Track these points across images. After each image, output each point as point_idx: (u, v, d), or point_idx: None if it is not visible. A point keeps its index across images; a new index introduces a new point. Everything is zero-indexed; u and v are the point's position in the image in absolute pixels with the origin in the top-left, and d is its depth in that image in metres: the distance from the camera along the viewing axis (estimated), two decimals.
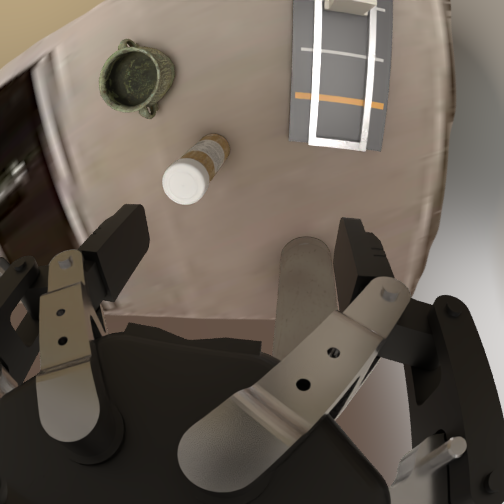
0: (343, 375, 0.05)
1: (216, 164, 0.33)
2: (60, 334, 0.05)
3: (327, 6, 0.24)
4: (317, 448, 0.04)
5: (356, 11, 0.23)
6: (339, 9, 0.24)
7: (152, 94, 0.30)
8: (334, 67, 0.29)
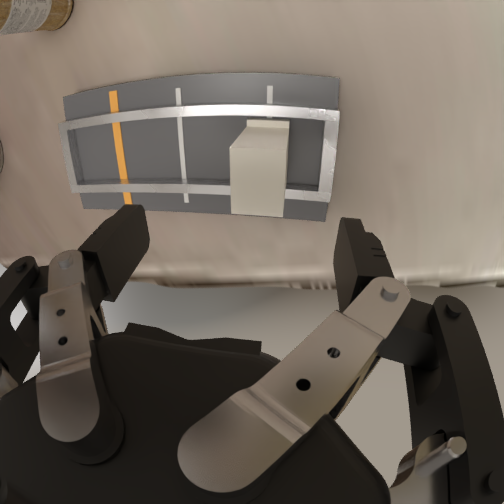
0: (343, 375, 0.05)
1: (4, 32, 0.12)
2: (60, 334, 0.05)
3: (251, 124, 0.20)
4: (317, 448, 0.04)
5: None
6: None
7: None
8: (159, 137, 0.23)
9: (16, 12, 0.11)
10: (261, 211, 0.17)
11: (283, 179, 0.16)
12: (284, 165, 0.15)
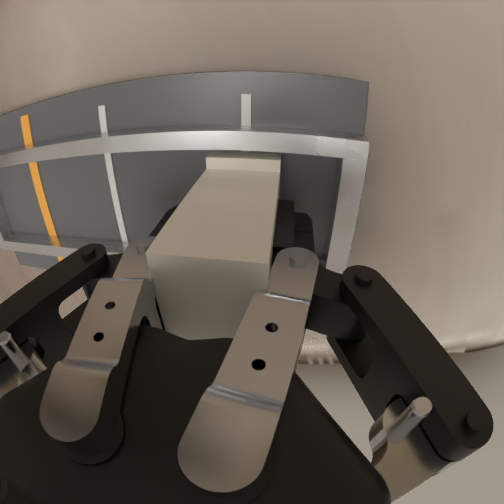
0: (289, 343, 0.05)
1: None
2: (99, 329, 0.05)
3: (213, 165, 0.12)
4: (317, 448, 0.04)
5: None
6: None
7: None
8: (84, 181, 0.14)
9: None
10: None
11: None
12: None
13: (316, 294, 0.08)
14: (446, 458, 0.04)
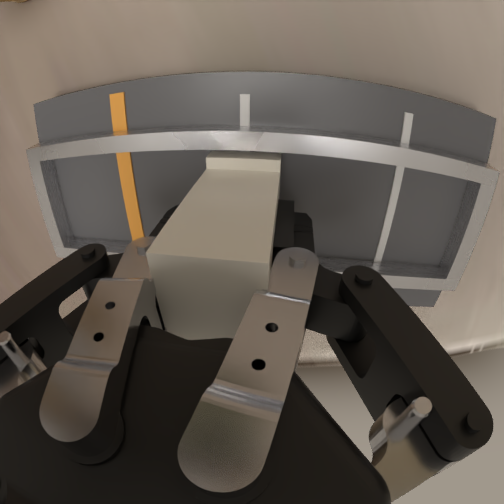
0: (289, 343, 0.05)
1: None
2: (99, 329, 0.05)
3: (213, 165, 0.12)
4: (317, 448, 0.04)
5: None
6: None
7: None
8: None
9: None
10: None
11: None
12: None
13: (316, 294, 0.08)
14: (446, 458, 0.04)
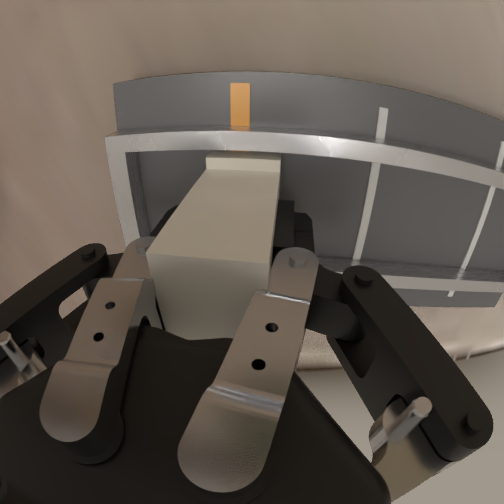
0: (289, 344, 0.05)
1: None
2: (99, 329, 0.05)
3: (213, 165, 0.12)
4: (317, 448, 0.04)
5: None
6: None
7: None
8: (329, 188, 0.13)
9: None
10: None
11: None
12: None
13: (316, 294, 0.08)
14: (446, 458, 0.04)
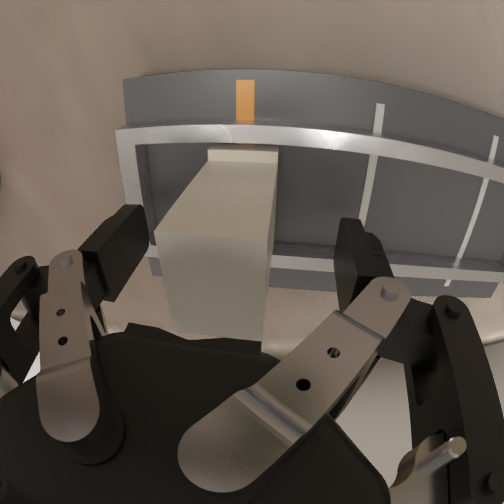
0: (343, 375, 0.05)
1: None
2: (60, 334, 0.05)
3: (214, 156, 0.12)
4: (317, 448, 0.04)
5: None
6: None
7: None
8: (329, 179, 0.14)
9: None
10: (224, 332, 0.10)
11: (261, 289, 0.08)
12: (263, 266, 0.08)
13: (409, 327, 0.07)
14: None
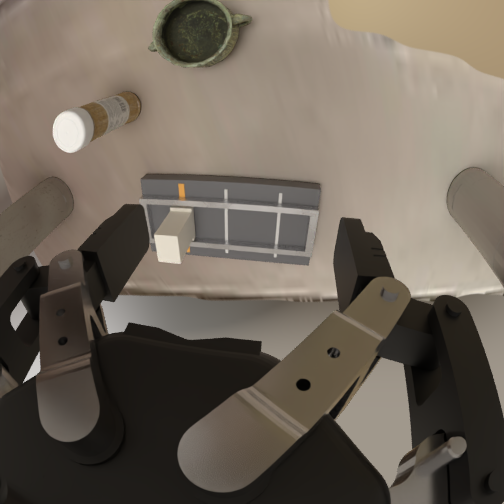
0: (342, 375, 0.05)
1: None
2: (60, 334, 0.05)
3: (172, 209, 0.39)
4: (317, 448, 0.04)
5: None
6: None
7: (169, 59, 0.26)
8: (212, 215, 0.41)
9: (111, 125, 0.29)
10: (171, 261, 0.37)
11: (178, 248, 0.35)
12: (177, 242, 0.35)
13: (409, 327, 0.07)
14: None
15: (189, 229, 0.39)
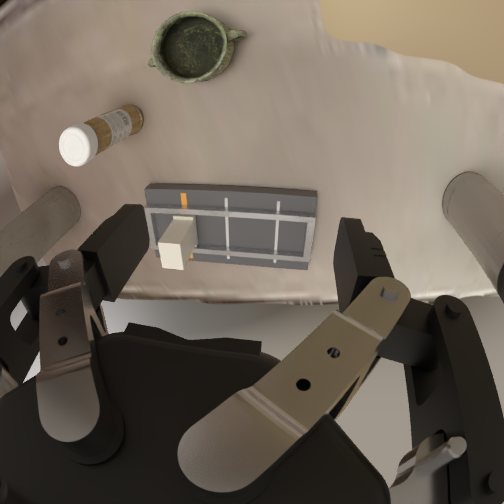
0: (342, 375, 0.05)
1: None
2: (60, 334, 0.05)
3: (175, 218, 0.41)
4: (317, 448, 0.04)
5: None
6: None
7: (168, 75, 0.28)
8: (213, 223, 0.43)
9: (115, 139, 0.31)
10: (174, 267, 0.38)
11: (180, 255, 0.37)
12: (180, 249, 0.37)
13: (410, 327, 0.07)
14: None
15: (191, 236, 0.41)
